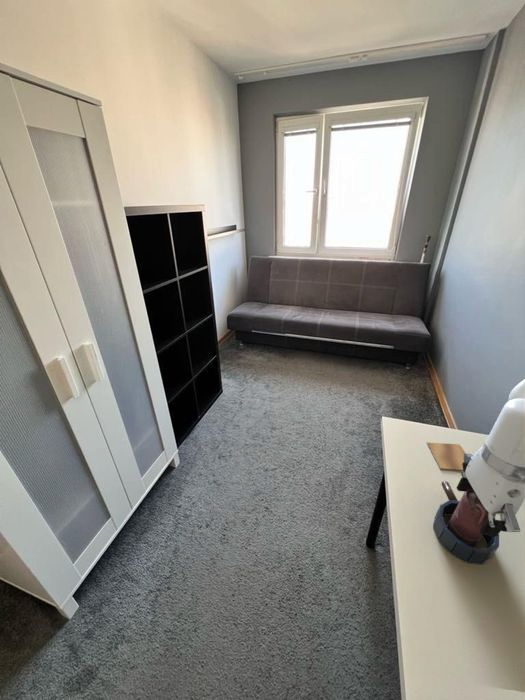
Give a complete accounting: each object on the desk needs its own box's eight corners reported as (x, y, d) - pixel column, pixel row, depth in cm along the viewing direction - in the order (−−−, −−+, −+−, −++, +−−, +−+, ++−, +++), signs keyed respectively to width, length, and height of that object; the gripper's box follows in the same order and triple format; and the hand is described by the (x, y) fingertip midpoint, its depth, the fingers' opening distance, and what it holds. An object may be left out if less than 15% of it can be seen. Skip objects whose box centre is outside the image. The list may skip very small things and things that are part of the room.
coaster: (459, 445, 90) (459, 444, 90) (476, 471, 82) (476, 471, 82) (426, 443, 92) (427, 442, 91) (439, 469, 83) (440, 468, 83)
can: (451, 547, 65) (471, 512, 58) (442, 520, 70) (460, 485, 63) (481, 553, 64) (505, 518, 57) (470, 525, 69) (491, 490, 62)
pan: (462, 492, 76) (468, 481, 74) (502, 567, 61) (511, 555, 59) (417, 489, 78) (422, 477, 75) (446, 560, 63) (452, 549, 60)
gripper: (565, 503, 45) (520, 556, 54) (499, 426, 60) (472, 477, 69) (514, 498, 46) (478, 551, 55) (462, 424, 61) (439, 474, 70)
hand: (474, 510), depth 62 cm, fingers open, 9 cm apart
